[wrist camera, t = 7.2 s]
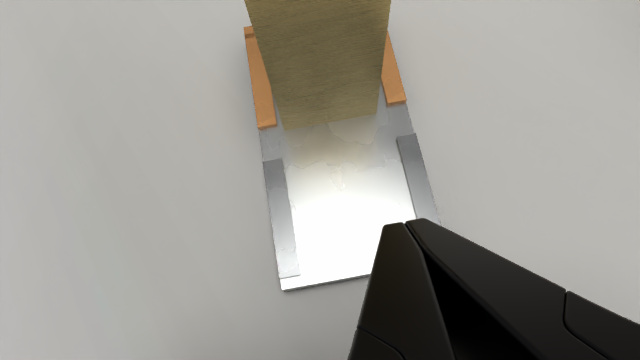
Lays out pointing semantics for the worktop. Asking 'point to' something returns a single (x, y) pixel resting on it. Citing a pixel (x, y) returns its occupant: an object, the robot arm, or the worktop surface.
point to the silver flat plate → (338, 180)
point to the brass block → (321, 56)
